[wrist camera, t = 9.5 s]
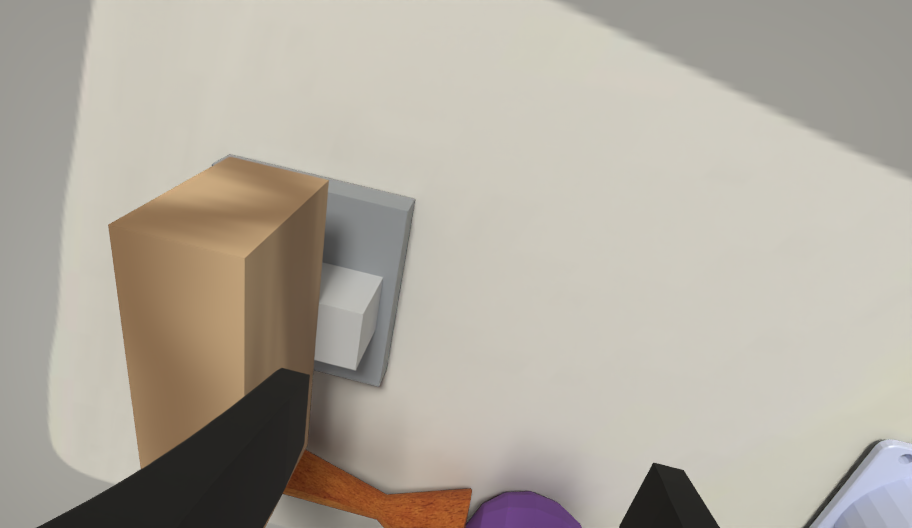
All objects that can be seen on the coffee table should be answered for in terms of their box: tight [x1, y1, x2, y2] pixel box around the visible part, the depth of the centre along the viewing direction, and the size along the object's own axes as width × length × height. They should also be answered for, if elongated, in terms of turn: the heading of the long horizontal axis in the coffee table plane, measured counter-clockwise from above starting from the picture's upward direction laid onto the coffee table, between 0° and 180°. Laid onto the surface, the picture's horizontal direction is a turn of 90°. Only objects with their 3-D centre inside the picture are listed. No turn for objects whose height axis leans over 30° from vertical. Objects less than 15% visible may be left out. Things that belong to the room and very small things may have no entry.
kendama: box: [283, 450, 582, 528], centre depth 24 cm, size 6×6×20 cm
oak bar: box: [108, 157, 329, 528], centre depth 16 cm, size 3×11×5 cm, turn 169°
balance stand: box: [212, 154, 415, 387], centre depth 20 cm, size 7×8×4 cm
